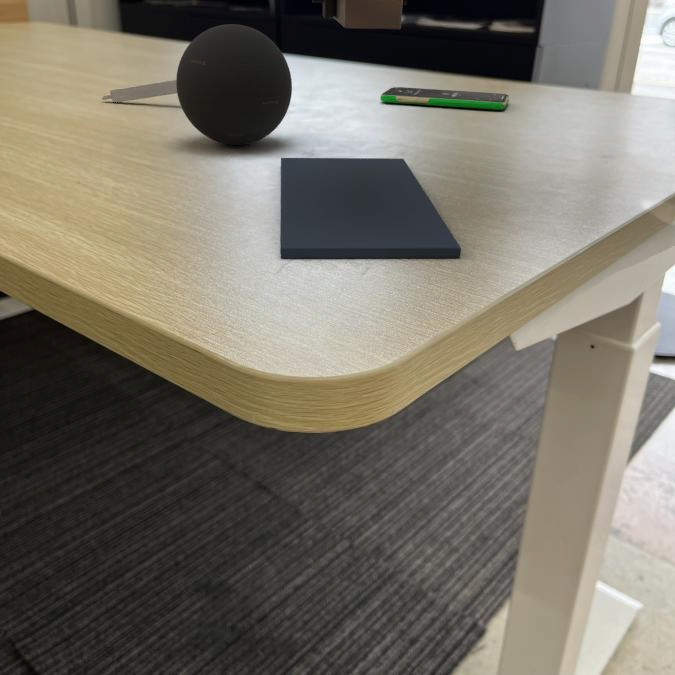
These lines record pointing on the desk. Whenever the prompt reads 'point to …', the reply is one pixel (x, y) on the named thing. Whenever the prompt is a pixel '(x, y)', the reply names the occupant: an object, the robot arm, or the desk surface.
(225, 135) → the speaker
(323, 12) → the robot arm
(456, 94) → the smartphone
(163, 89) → the caliper
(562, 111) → the desk surface
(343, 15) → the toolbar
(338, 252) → the mat
